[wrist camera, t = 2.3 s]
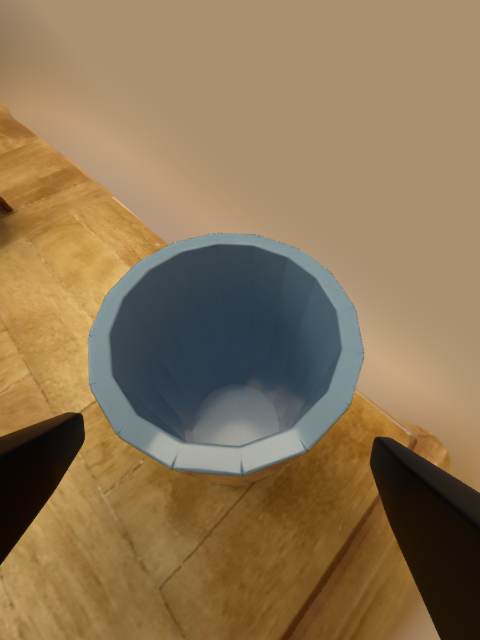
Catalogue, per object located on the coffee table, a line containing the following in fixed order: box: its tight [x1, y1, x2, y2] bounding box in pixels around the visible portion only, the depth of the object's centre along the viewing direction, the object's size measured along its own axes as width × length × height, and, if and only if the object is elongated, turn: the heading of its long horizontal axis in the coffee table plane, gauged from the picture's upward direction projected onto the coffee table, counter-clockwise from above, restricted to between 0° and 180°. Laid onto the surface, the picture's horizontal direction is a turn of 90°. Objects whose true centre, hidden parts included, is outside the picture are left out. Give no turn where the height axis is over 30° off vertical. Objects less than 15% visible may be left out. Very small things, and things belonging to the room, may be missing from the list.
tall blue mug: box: [88, 233, 364, 487], centre depth 13 cm, size 9×6×13 cm
